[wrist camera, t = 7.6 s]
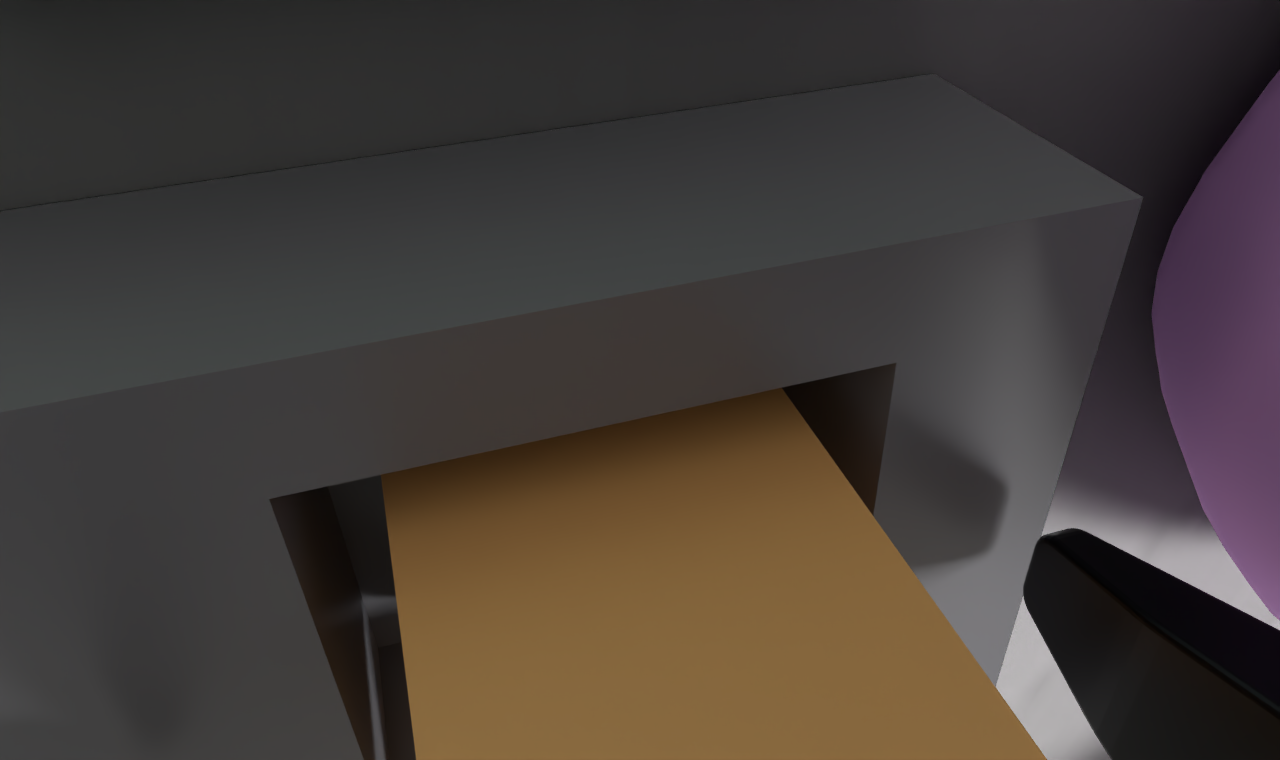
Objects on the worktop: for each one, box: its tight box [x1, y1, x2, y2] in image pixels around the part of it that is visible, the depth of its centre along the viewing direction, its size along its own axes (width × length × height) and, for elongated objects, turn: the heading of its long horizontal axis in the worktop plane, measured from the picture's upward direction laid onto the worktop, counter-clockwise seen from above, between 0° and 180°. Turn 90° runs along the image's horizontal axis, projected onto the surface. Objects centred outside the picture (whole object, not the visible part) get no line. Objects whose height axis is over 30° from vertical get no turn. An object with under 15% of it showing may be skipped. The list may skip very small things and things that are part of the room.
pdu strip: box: [0, 74, 1143, 760], centre depth 10 cm, size 20×8×4 cm, turn 92°
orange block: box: [381, 388, 1047, 760], centre depth 9 cm, size 4×4×7 cm
